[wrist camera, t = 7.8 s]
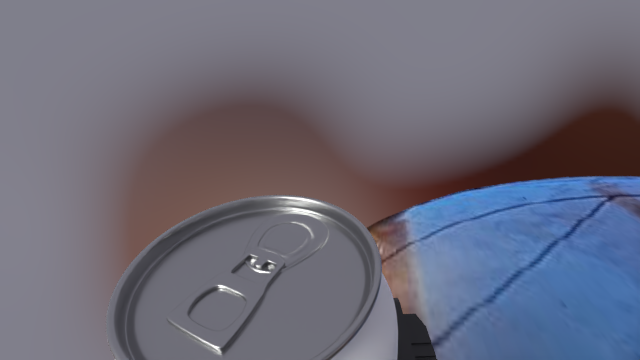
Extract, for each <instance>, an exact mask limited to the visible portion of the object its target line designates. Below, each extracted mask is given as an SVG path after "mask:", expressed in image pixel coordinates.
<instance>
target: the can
mask: <svg viewBox="0 0 640 360" xmlns="http://www.w3.org/2000/svg"><path fill="white" fill-rule="evenodd" d="M106 333H107V339H108V343H109V347H110V349H111V352H112V354H113V356H114V358H115V360H397V355H398V324H397V314H396V307H395V303H394V299H393V296H392V293H391V290H390V288H389V286H388V283H387V281H386V279H385V277H384V275H383V274H382V267H381V258H380V254H379V250H378V248H377V245H376V243H375V241H374V239H373V237H372V235H371V234H370V232H369V231H368V230H367V228H366V227H365V226H364V225H363V224H362V223H361V222H360V221H359V220H358V219H356V218H355V217H354V216H352V215H351V214H350V213H348V212H347V211H345V210H343V209H341V208H339V207H337V206H335V205H333V204H330V203H327V202H324V201H321V200H317V199H313V198H308V197H301V196H292V195H269V196H259V197H251V198H245V199H240V200H236V201H232V202H229V203H225V204H222V205H219V206H216V207H213V208H210V209H208V210H205V211H203V212H200V213H198V214H196V215H194V216H192V217H190V218H188V219H186V220H184V221H182V222H181V223H179V224H177V225H175V226H174V227H172V228H170V229H169V230H168V231H166V232H165V233H163V234H162V235H160V236H159V237H158V238H156V239H155V240H154V241H153V242H152V243H150V244H149V245H148V246H147V247H146V248H145V249H144V250H143V251H142V252H141V253H140V254H139V255H138V256H137V257H136V258H135V259H134V260H133V261H132V263H131V264H130V265H129V266H128V268H127V269H126V270H125V272H124V273H123V275H122V276H121V278H120V280H119V281H118V283H117V285H116V287H115V289H114V291H113V294H112V296H111V299H110V303H109V306H108V310H107V317H106Z"/></svg>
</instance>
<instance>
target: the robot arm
mask: <svg viewBox="0 0 640 360" xmlns="http://www.w3.org/2000/svg"><path fill="white" fill-rule="evenodd" d="M393 299H394V303H395V307H396V314H397V324H398V355H397V360H437V359H436V355H435V352H434V349H433V346H432V344H431V340H430V337H429V334H428V331H427V328H426V326H425V325H424V324H423V323H422V321H421V320H420V319H419V318H418V317H417V315H416V314H403V313H402V309H401V305H400V302H399V300H398V298H393Z"/></svg>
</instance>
